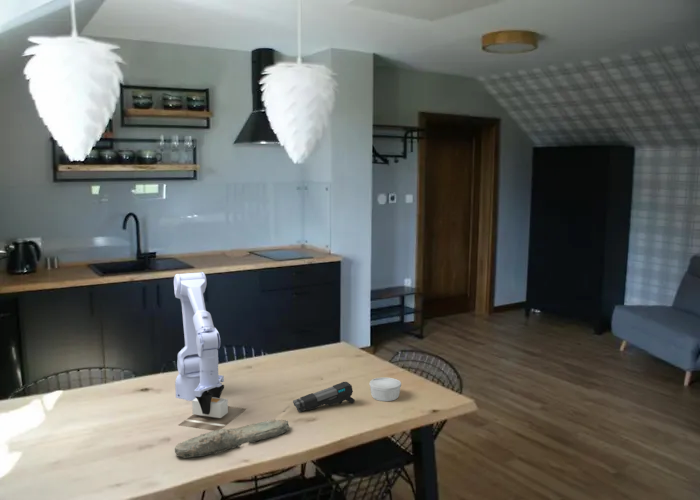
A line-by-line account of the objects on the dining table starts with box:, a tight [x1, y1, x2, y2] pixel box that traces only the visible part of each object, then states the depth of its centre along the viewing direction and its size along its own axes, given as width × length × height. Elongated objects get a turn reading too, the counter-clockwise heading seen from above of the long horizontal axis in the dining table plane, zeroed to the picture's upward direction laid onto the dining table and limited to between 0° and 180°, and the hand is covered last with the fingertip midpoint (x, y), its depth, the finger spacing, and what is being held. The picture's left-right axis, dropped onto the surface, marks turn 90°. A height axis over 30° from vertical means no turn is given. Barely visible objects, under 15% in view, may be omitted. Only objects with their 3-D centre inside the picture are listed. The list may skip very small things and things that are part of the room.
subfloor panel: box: [178, 406, 247, 431], centre depth 190 cm, size 14×18×1 cm
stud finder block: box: [191, 397, 229, 418], centre depth 189 cm, size 10×4×5 cm, turn 73°
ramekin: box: [368, 377, 402, 402], centre depth 210 cm, size 11×11×5 cm
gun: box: [292, 381, 356, 413], centre depth 201 cm, size 4×20×10 cm, turn 114°
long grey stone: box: [174, 419, 290, 459], centre depth 174 cm, size 35×5×10 cm
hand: (210, 410), depth 190 cm, fingers closed on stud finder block, 4 cm apart
